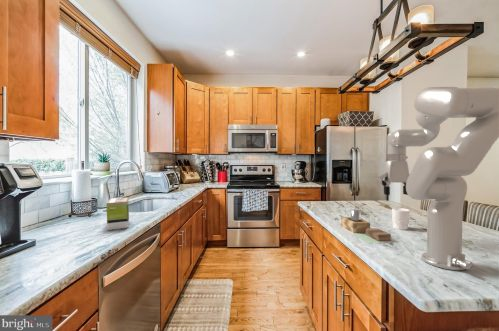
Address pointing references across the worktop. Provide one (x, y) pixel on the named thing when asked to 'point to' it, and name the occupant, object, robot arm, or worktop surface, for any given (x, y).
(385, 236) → the walnut bar
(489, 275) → the worktop surface
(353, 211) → the silver cylinder
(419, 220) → the worktop surface
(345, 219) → the slot block
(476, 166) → the robot arm
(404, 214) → the white cup
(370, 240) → the mat
